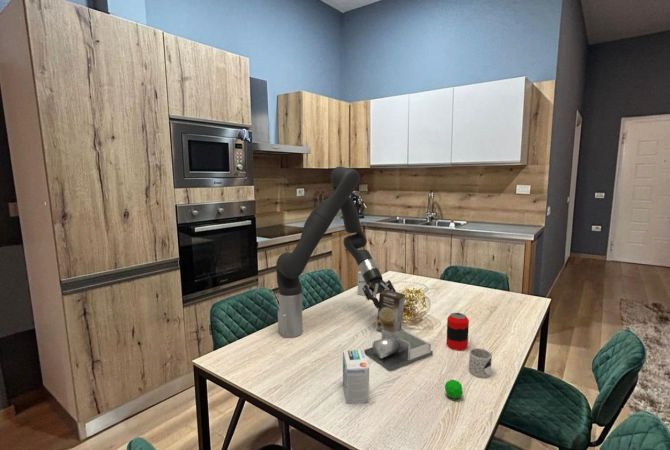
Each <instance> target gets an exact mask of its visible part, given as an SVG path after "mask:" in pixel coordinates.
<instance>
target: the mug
mask: <svg viewBox="0 0 670 450" xmlns="http://www.w3.org/2000/svg"><path fill="white" fill-rule="evenodd" d="M492 356H493V355H492V352H490V351H488V350H486V349H485V348H476V347H475V348H471V349H470V350H469V357H468V358H469V360H468V372H469V373H468V374H470V375H472V376H473V377H476V378H479V379H488V378H490V377H491V376H492V375H491V372H492V359H493V358H492Z"/></svg>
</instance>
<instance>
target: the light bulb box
mask: <svg viewBox="0 0 670 450" xmlns="http://www.w3.org/2000/svg"><path fill="white" fill-rule="evenodd" d="M364 350H365V349H358V350H356V349H355V350H343V351H342V386H343V392H344V398H345V403H346V404H361V403H362V404H363V403H365V404H366V403H367V404H368V403H369V400H370V397H369V396H370V395H369V393H370V365H369V362H368V360H367V355H366V354H365V353H364Z"/></svg>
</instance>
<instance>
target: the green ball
mask: <svg viewBox="0 0 670 450" xmlns="http://www.w3.org/2000/svg"><path fill="white" fill-rule="evenodd" d="M444 389H445V391H444V392H445V394H446V395H447V396H448V397H449V398H451V399H454V400H455V399H458V398H461V397H462V395H463V393H464V392H463V386H462V384H461V383H460V381H458V380H455V379H450V380H448V381H447V382H445V384H444Z"/></svg>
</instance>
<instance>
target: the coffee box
mask: <svg viewBox="0 0 670 450" xmlns="http://www.w3.org/2000/svg"><path fill="white" fill-rule="evenodd" d="M378 296H379V298H378V301H379V303H380V305H381V306H380V307H379V308H377V319H376V328H375V329H376V330H378V331H380V332H382V329H386V330H388V331H390V332H391V333H395V332H398V331H401V330H402V327H403V316H404V306H405V297H406V294H405V293H401V292H397V291H396V292H394V291H391V290H387V289H385V290H383V291H382V292H381V293H379V295H378Z"/></svg>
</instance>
